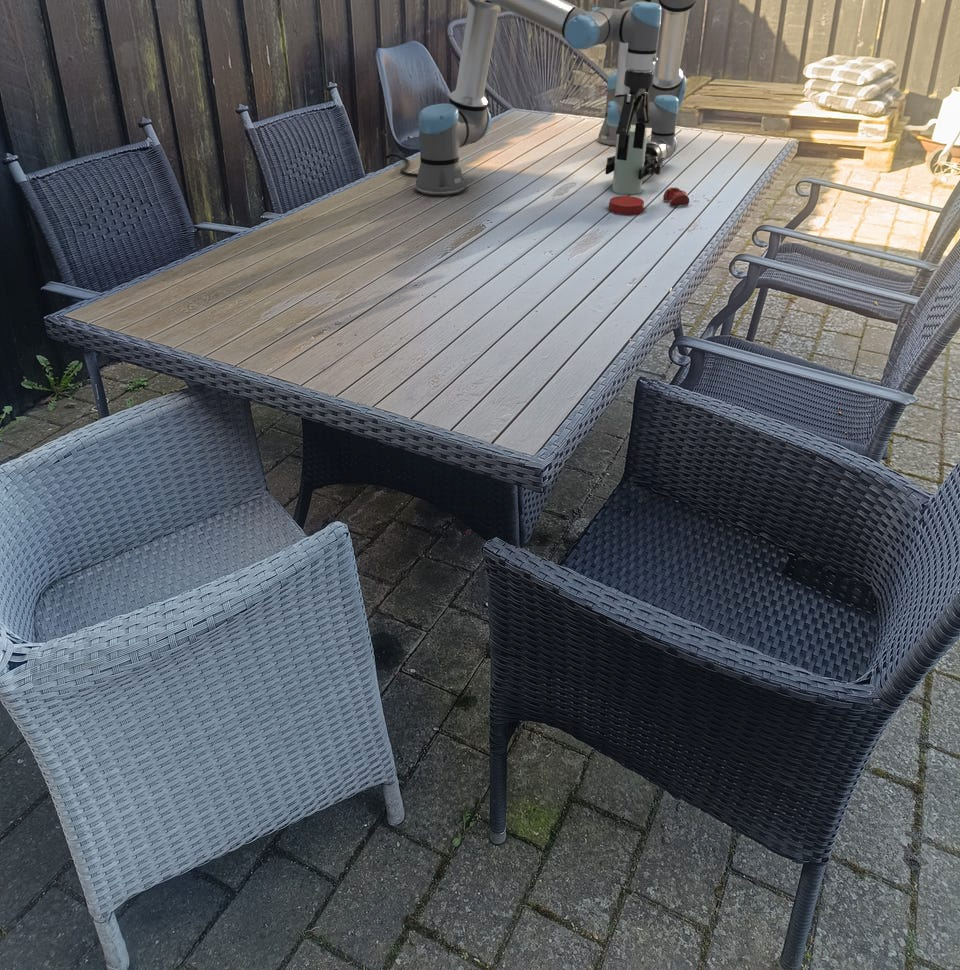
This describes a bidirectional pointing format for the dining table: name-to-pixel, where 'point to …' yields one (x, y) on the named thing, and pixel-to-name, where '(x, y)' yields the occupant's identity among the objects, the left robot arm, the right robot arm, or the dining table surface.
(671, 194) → the dental model
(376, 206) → the dining table surface
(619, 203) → the lid
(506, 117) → the dining table surface
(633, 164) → the jar
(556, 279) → the dining table surface
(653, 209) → the dining table surface
